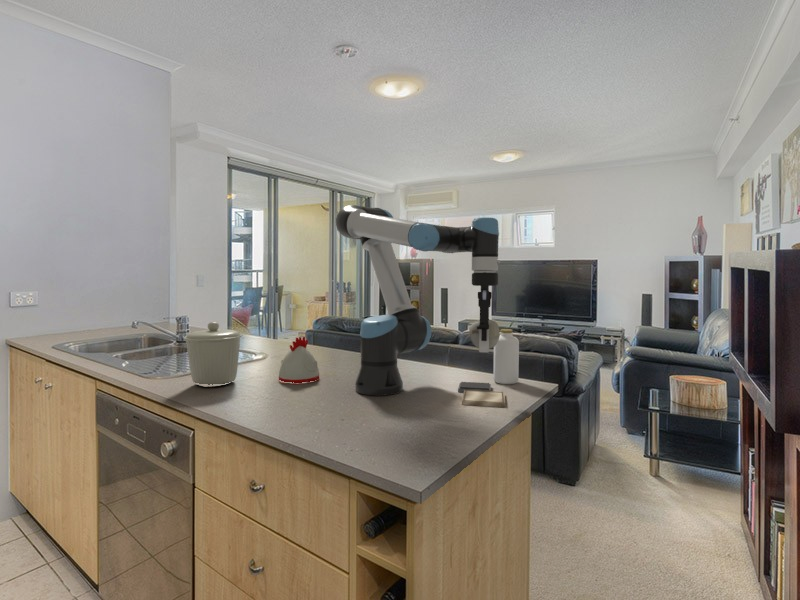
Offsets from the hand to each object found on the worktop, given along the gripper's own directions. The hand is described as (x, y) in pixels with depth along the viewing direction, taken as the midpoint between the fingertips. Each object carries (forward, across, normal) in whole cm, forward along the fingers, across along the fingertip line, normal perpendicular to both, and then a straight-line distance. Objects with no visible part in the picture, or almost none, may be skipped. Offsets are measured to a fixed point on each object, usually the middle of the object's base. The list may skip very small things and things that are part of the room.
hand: (484, 349), depth 131 cm
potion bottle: (+15, +23, -7) cm, 28 cm away
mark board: (+15, 0, 0) cm, 15 cm away
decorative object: (0, 0, 0) cm, 0 cm away
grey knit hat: (+15, +13, +64) cm, 67 cm away
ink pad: (+15, +11, +3) cm, 19 cm away
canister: (+15, +1, +89) cm, 90 cm away
